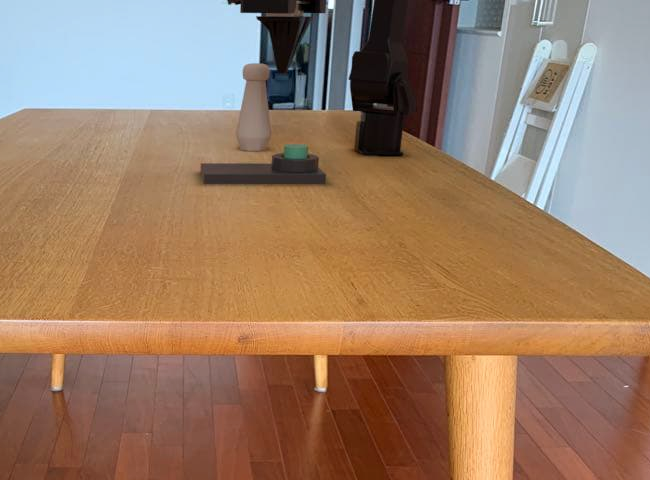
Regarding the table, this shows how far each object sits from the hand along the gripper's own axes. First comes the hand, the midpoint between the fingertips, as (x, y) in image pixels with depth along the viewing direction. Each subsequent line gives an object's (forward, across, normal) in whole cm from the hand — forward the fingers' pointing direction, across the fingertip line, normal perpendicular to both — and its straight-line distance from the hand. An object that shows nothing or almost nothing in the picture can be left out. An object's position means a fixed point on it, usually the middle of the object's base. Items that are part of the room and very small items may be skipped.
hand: (282, 73), depth 110 cm
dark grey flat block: (+13, +7, 0) cm, 15 cm away
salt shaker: (+13, -17, -10) cm, 24 cm away
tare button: (+10, +5, +4) cm, 12 cm away
